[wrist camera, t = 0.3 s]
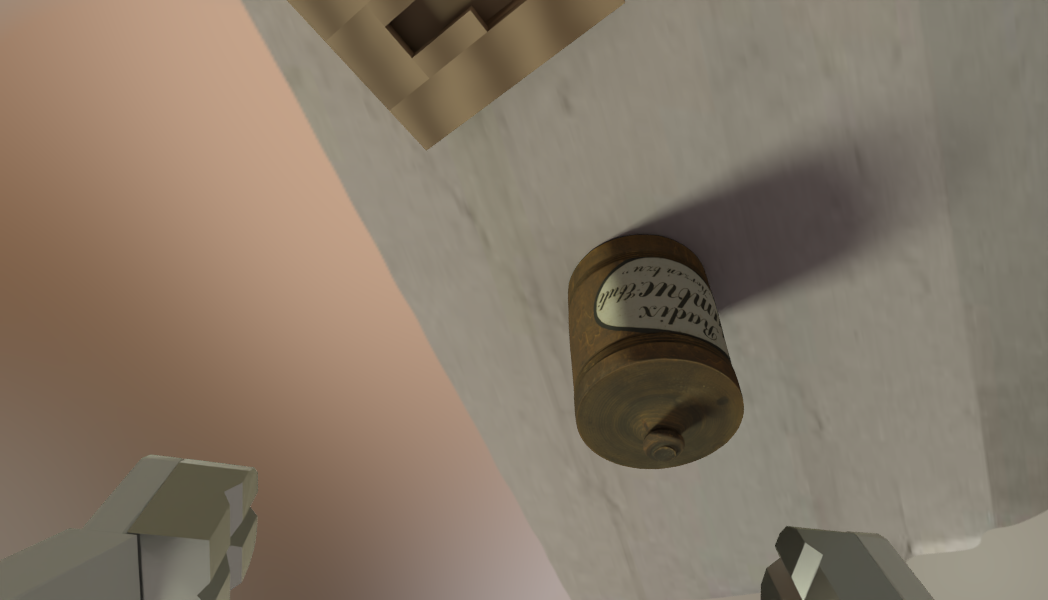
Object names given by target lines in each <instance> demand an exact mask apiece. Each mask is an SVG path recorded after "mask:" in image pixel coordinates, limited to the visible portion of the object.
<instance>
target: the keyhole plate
mask: <svg viewBox="0 0 1048 600" xmlns="http://www.w3.org/2000/svg"><path fill="white" fill-rule="evenodd" d="M287 1H288V2H289V3H290V4H291V5H292V6H293V7H294V8H295V10H296V11H297V12H298V13H299V14H300V15H301V16H302V17H303V18H304V19H305V20H306V21H307V22H308V24H309V25H310V26H311V27H312V28H313V29H314V30H315V31H316V32H317V33H318V34H319V35H320V36H321V38H322V39H323V40H324V41H325V42H326V43H327V44H328V45H329V46H330V47H331V48H332V49H333V50H334V52H335V53H336V54H337V55H338V56H339V57H340V58H341V59H342V60H343V61H344V62H345V63H346V64H347V66H348V67H349V68H350V69H351V70H352V71H353V72H354V73H355V74H356V75H357V76H358V77H359V79H360V80H361V81H362V82H363V83H364V84H365V85H366V86H367V87H368V88H369V89H370V90H371V91H372V93H373V94H374V95H375V96H376V97H377V98H378V99H379V100H380V101H381V102H382V103H383V104H384V105H385V107H386V108H387V109H388V110H389V111H390V112H391V113H392V114H393V115H394V116H395V117H396V118H397V119H398V121H399V122H400V123H401V124H402V125H403V126H404V127H405V128H406V129H407V130H408V131H409V132H410V133H411V135H412V136H413V137H414V138H415V139H416V140H417V141H418V142H419V143H420V144H421V145H422V146H423V148H424V149H425V150H426V151H427V150H428V149H429V148H431V147H432V146H433V145H435V144H436V143H437V142H439V141H440V140H441V139H443V138H444V137H445V136H447V135H448V134H449V133H451V132H452V131H453V130H455V129H456V128H457V127H459V126H460V125H461V124H463V123H464V122H466V121H467V120H468V119H470V118H471V117H472V116H474V115H475V114H476V113H478V112H479V111H480V110H482V109H483V108H484V107H486V106H487V105H488V104H490V103H491V102H492V101H494V100H495V99H496V98H498V97H499V96H500V95H502V94H503V93H504V92H506V91H507V90H508V89H510V88H511V87H513V86H514V85H515V84H517V83H518V82H519V81H521V80H522V79H523V78H525V77H526V76H527V75H529V74H530V73H531V72H533V71H534V70H535V69H537V68H538V67H539V66H541V65H542V64H543V63H545V62H546V61H547V60H549V59H550V58H551V57H553V56H554V55H555V54H557V53H558V52H559V51H561V50H562V49H564V48H565V47H566V46H568V45H569V44H570V43H572V42H573V41H574V40H576V39H577V38H578V37H580V36H581V35H582V34H584V33H585V32H586V31H588V30H589V29H590V28H592V27H593V26H594V25H596V24H597V23H598V22H600V21H601V20H602V19H604V18H605V17H606V16H608V15H609V14H610V13H612V12H613V11H615V10H616V9H617V8H619V7H620V6H621V5H623V4H624V3H625V0H287Z"/></svg>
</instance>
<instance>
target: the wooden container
mask: <svg viewBox="0 0 1048 600" xmlns="http://www.w3.org/2000/svg"><path fill="white" fill-rule="evenodd" d="M568 308H569V336H570V351H571V360H572V372H573V384H574V404H575V417H576V424H577V428H578V432H579V434H580V436H581V438H582V440H583V441H584V442H585V444H586V445H587V446H588V447H589V448H590V449H591V450H592V451H593V452H595V453H596V454H598V455H599V456H601V457H602V458H604V459H606V460H608V461H611V462H613V463H616V464H619V465H622V466H627V467H632V468H639V469H663V468H670V467H676V466H680V465H684V464H687V463H690V462H694V461H696V460H699V459H701V458H703V457H706V456H707V455H709V454H711V453H713V452H714V451H716V450H717V449H719V448H720V447H722V446H723V445H724V444H726V443H727V442H728V441H729V440H730V439H731V438H732V436H733V435H734V434H735V433H736V431H737V430H738V428H739V426H740V424H741V421H742V418H743V414H744V404H743V397H742V393H741V390H740V386H739V383H738V380H737V377H736V374H735V371H734V369H733V367H732V364H731V360H730V357H729V353H728V350H727V346H726V342H725V339H724V335H723V331H722V327H721V323H720V319H719V315H718V312H717V308H716V305H715V301H714V298H713V295H712V292H711V290H710V286H709V283H708V280H707V277H706V274H705V271H704V268H703V266H702V264H701V262H700V261H699V259H698V258H697V257H696V255H695V254H694V253H693V252H691V251H690V250H689V249H688V248H686V247H685V246H684V245H682V244H680V243H678V242H676V241H674V240H671V239H669V238H665V237H661V236H656V235H630V236H625V237H620V238H617V239H614V240H611V241H608V242H606V243H604V244H602V245H600V246H599V247H597V248H595V249H594V250H592V251H591V252H590V253H588V254H587V255H586V256H585V257H584V258H583V259H582V260H581V261H580V263H579V264H578V266H577V267H576V268H575V270H574V272H573V274H572V276H571V279H570V282H569V288H568Z"/></svg>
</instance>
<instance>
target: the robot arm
mask: <svg viewBox="0 0 1048 600" xmlns="http://www.w3.org/2000/svg"><path fill="white" fill-rule="evenodd" d="M257 492H258V473H257V471H256V470H255V468H254V467H246V466H238V465H231V464H223V463H216V462H207V461H200V460H192V459H182V458H174V457H166V456H158V455H148V456H146V457H144V458H142V459H141V460H140V461H139V462H138V463H137V464H136V465H135V467H134V468H133V469H132V470H131V471H130V472H129V474H128V475H127V476H126V477H125V478H124V480H123V481H122V482H121V483H120V484H119V486H118V487H117V488H116V489H115V490H114V491H113V493H112V494H111V495H110V496H109V497H108V498H107V500H106V501H105V502H104V503H103V504H102V506H101V507H100V508H99V509H98V510H97V512H96V513H95V514H94V515H93V516H92V517H91V518H90V520H89V521H88V522H87V523H86V524H85V526H84V527H83V528H82V529H72V528H70V529H68V530H65V531H63V532H61V533H59V534H56V535H54V536H52V537H50V538H48V539H46V540H44V541H41V542H39V543H37V544H35V545H33V546H30V547H28V548H26V549H24V550H22V551H20V552H17V553H15V554H13V555H11V556H9V557H6V558H4V559H2V560H0V600H230V590H231V589H233V588H234V587H235V586H237V585H238V584H240V583H241V582H242V580H243V578H244V576H245V573H246V571H247V569H248V567H249V563H250V560H251V556H252V553H253V549H254V546H255V539H256V532H257V515H256V514H255V513H254V511H253V510H252V509H251V507H250V506H251V504H252V502H253V500H254V498H255V496H256V494H257ZM775 548H776V550H777V552H778V555H779V557H780V558H779V559H778V560H776V561H775V562H774V563H772V564H771V565H770V566H769V567H767V568H766V571H765V574H764V577H763V580H762V583H761V600H934V599H933V597H932V596H931V595H930V593H929V592H928V591H927V590H926V588H925V587H924V586H923V584H922V583H921V582H920V581H919V579H918V578H917V577H916V576H915V575H914V573H913V572H912V570H911V569H910V568H909V567H908V565H907V564H906V563H905V562H904V560H903V559H902V558H901V556H900V555H899V554H898V553H897V551H896V550H895V549H894V547H893V546H892V545H891V544H890V542H889V541H888V540H887V539H886V538H884V537H882V536H881V535H879V534H875V533H863V532H850V531H847V532H839V531H830V530H820V529H810V528H801V527H791V526H786V527H785V528H784V529H783V530H782V531H781V532H780V534H779V537H778V539H777V542H776V544H775Z"/></svg>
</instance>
